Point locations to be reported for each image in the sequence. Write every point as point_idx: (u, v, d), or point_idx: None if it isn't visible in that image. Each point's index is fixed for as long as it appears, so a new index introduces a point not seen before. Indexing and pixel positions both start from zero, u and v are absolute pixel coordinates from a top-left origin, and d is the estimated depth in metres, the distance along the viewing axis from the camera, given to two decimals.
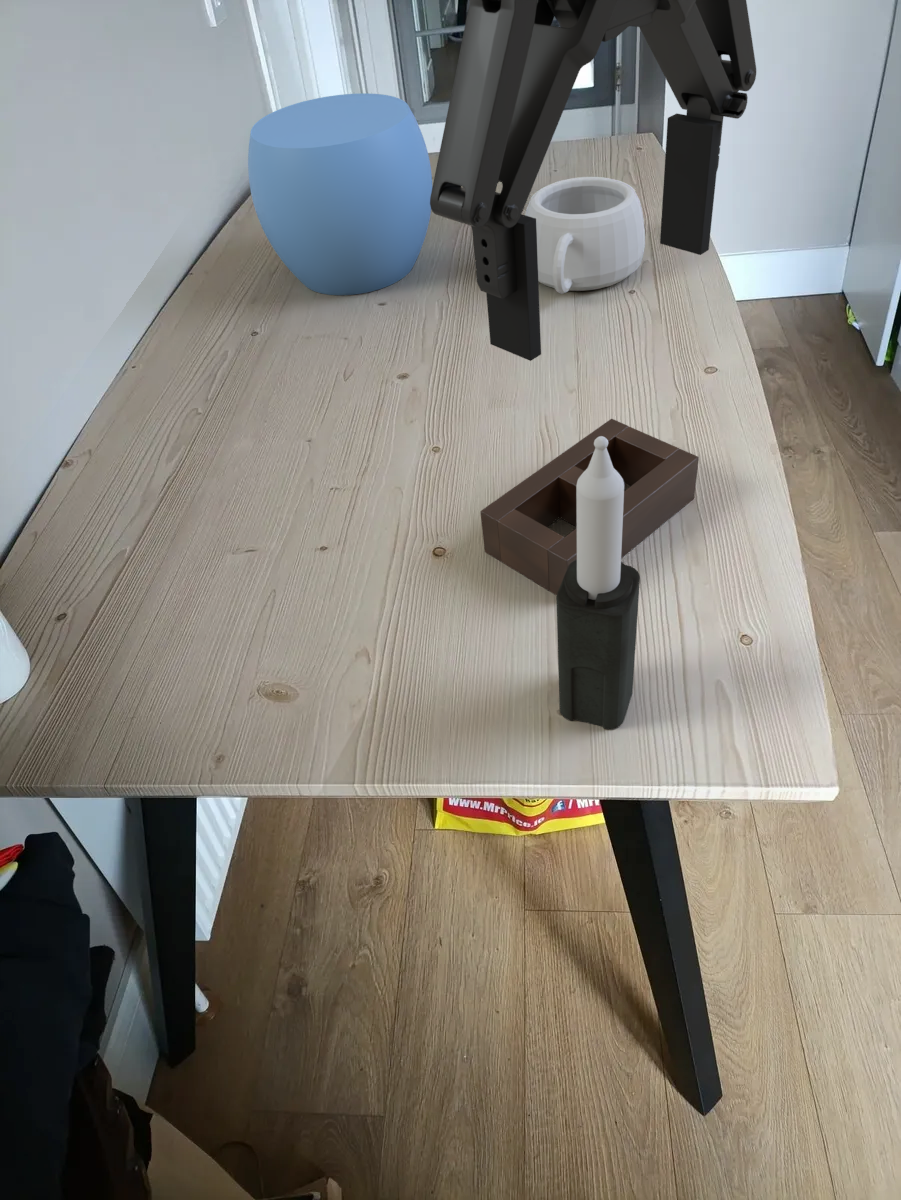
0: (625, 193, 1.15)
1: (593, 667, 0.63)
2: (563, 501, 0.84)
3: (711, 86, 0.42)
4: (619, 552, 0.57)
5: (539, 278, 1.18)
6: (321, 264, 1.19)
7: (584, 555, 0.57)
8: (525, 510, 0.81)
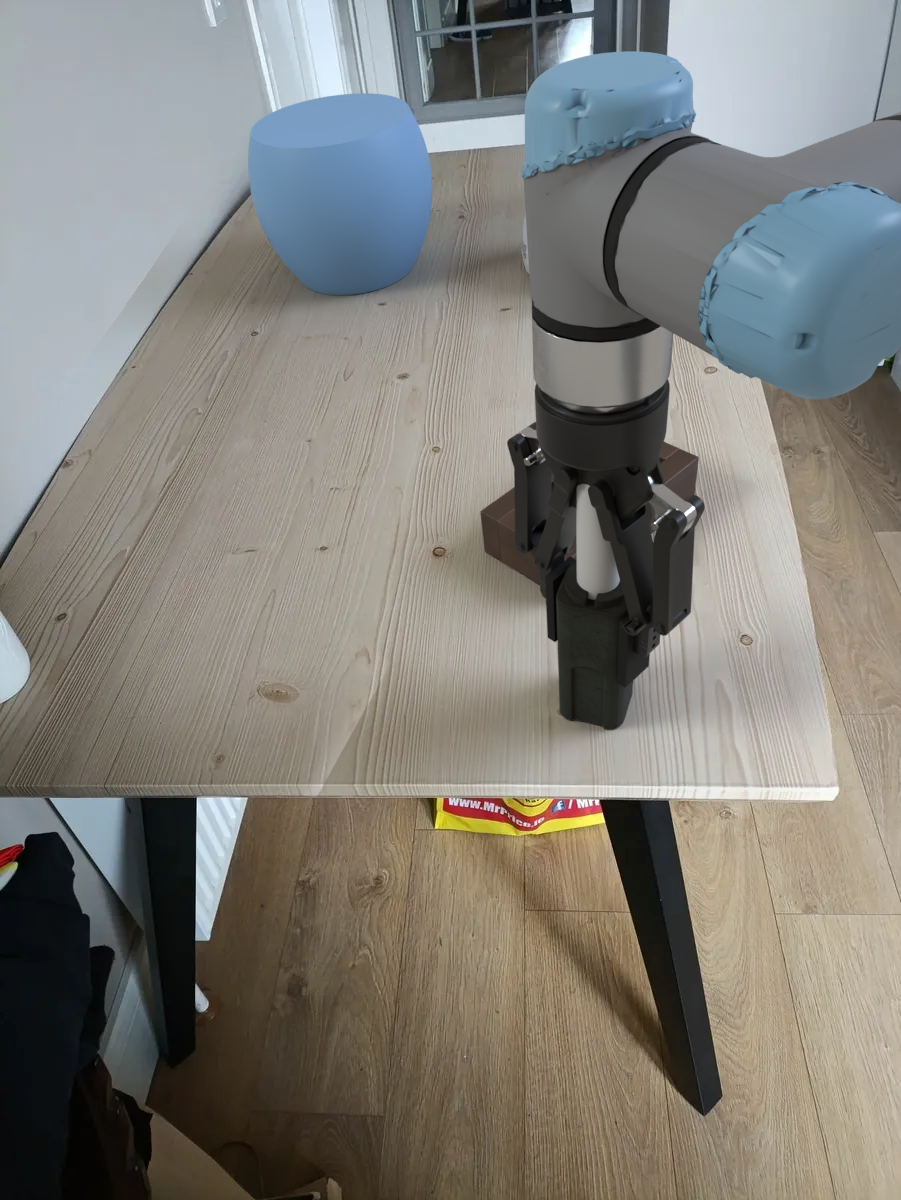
0: None
1: (593, 667, 0.63)
2: None
3: (626, 597, 0.57)
4: None
5: None
6: (321, 264, 1.19)
7: (583, 555, 0.57)
8: None
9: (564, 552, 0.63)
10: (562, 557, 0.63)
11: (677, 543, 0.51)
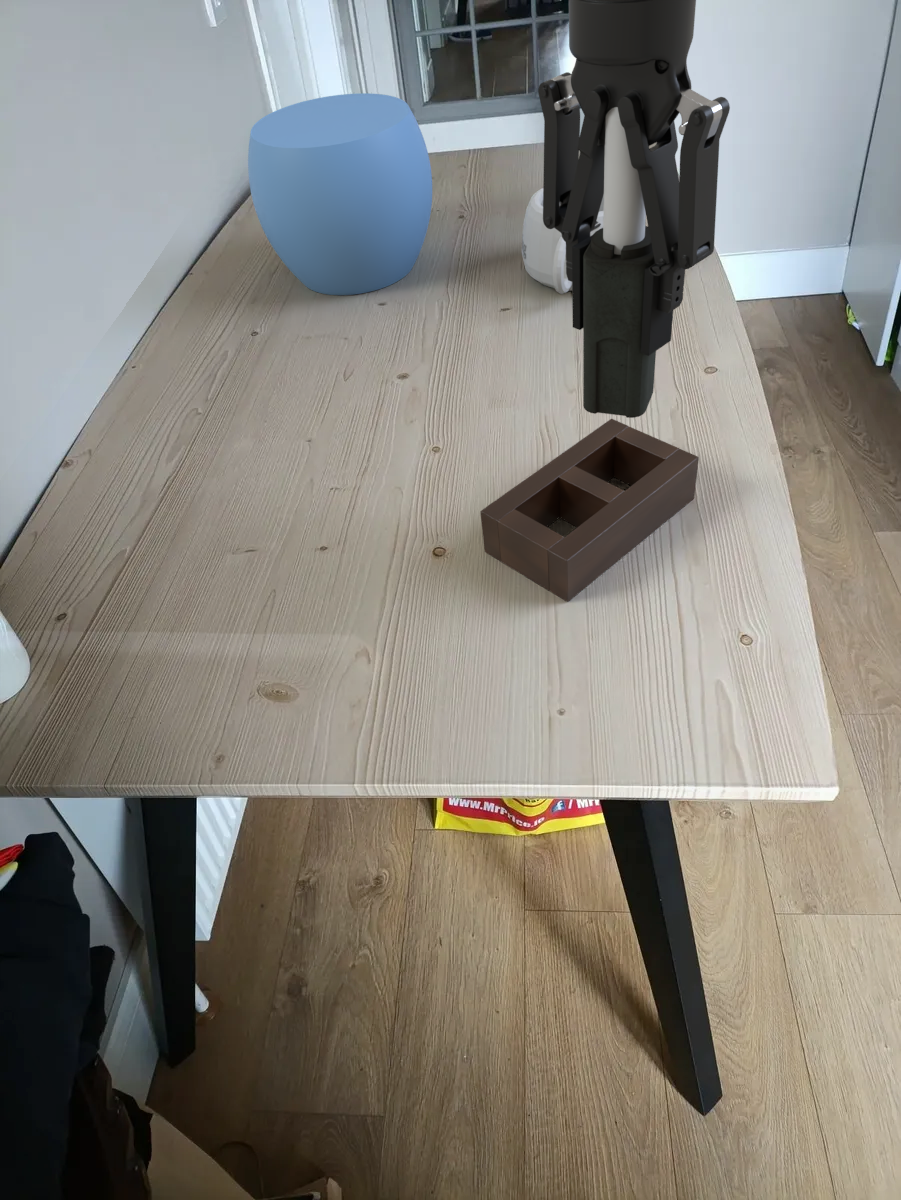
0: None
1: (618, 336, 0.65)
2: (563, 501, 0.84)
3: (652, 236, 0.59)
4: None
5: (539, 278, 1.18)
6: (321, 264, 1.19)
7: (611, 199, 0.60)
8: (525, 510, 0.81)
9: (590, 226, 0.65)
10: (588, 230, 0.65)
11: (703, 148, 0.54)
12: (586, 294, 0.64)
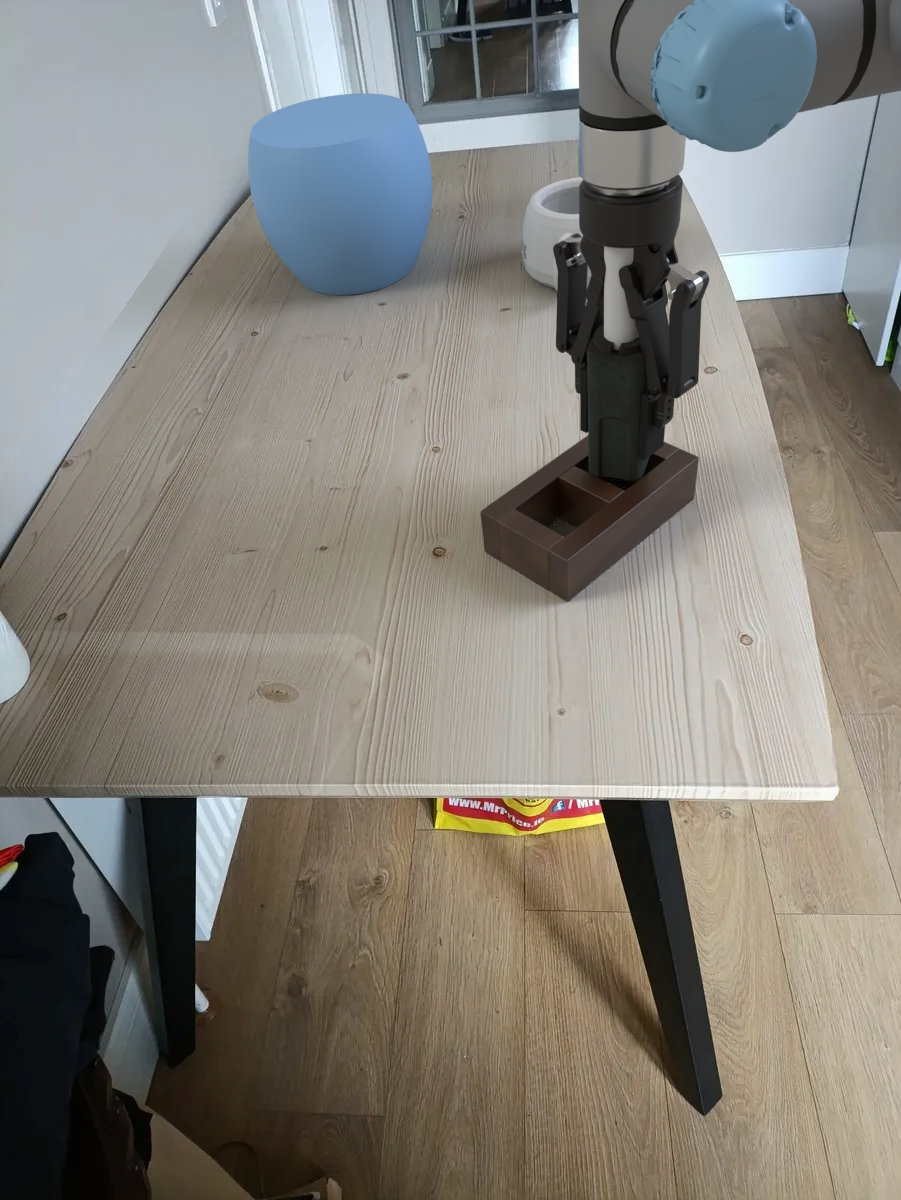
0: None
1: (617, 416, 0.76)
2: (563, 501, 0.84)
3: (647, 370, 0.72)
4: None
5: (539, 278, 1.18)
6: (321, 264, 1.19)
7: (610, 306, 0.70)
8: (525, 510, 0.81)
9: None
10: None
11: (688, 310, 0.67)
12: (590, 381, 0.75)
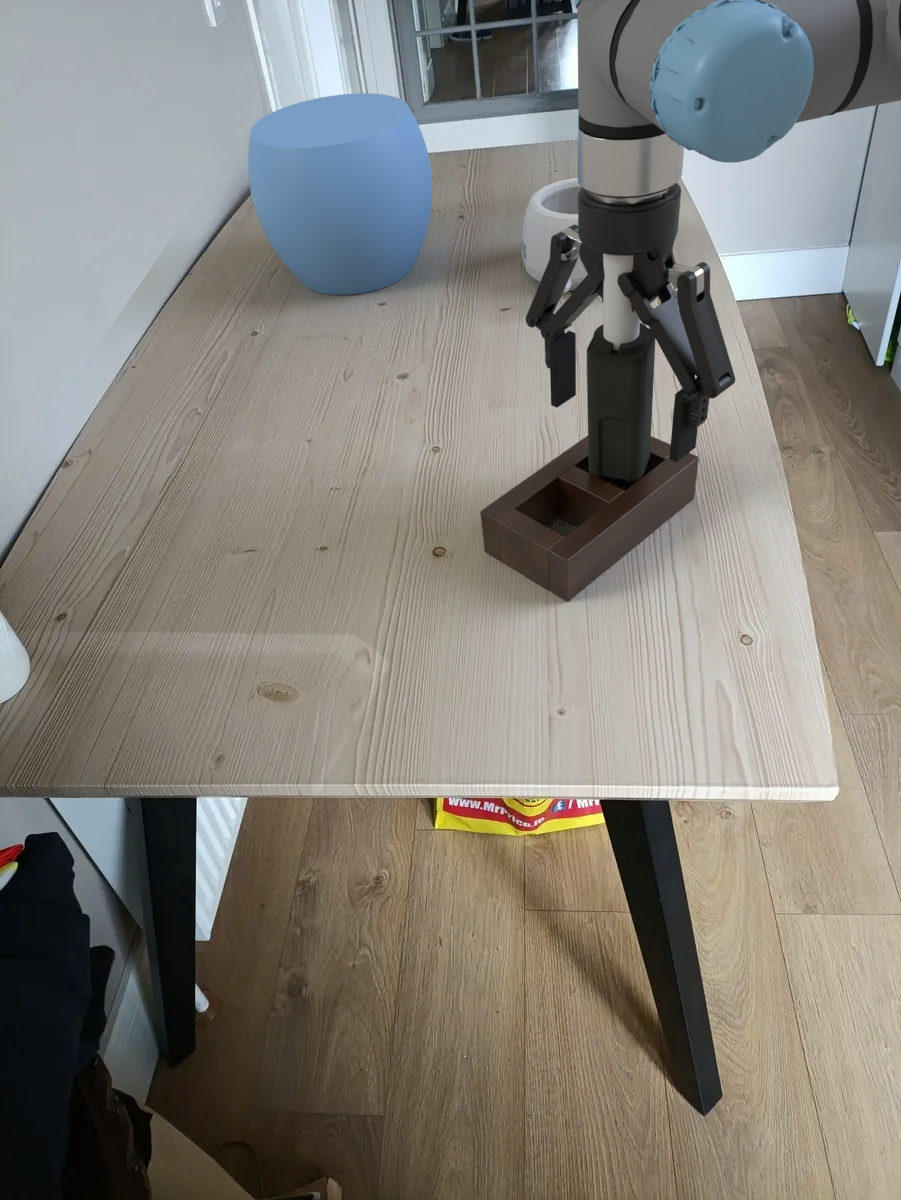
0: None
1: (617, 416, 0.76)
2: (563, 501, 0.84)
3: (676, 372, 0.70)
4: None
5: (539, 278, 1.18)
6: (321, 264, 1.19)
7: (609, 306, 0.70)
8: (525, 510, 0.81)
9: (564, 328, 0.79)
10: (562, 331, 0.79)
11: (697, 302, 0.66)
12: (589, 381, 0.75)
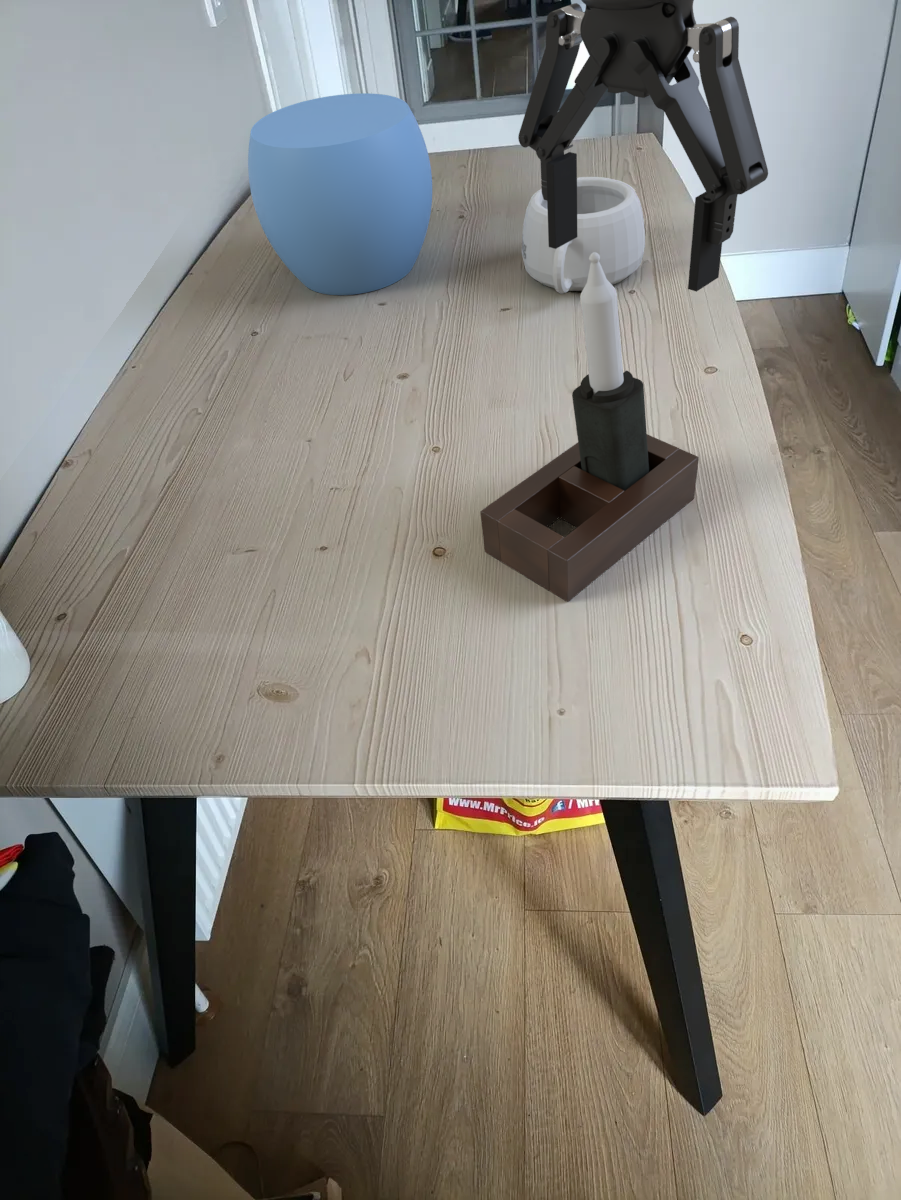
0: (625, 193, 1.15)
1: (597, 457, 0.80)
2: (563, 501, 0.84)
3: (697, 168, 0.58)
4: (614, 356, 0.74)
5: (539, 278, 1.18)
6: (321, 264, 1.19)
7: (587, 355, 0.74)
8: (525, 510, 0.81)
9: (563, 147, 0.68)
10: (561, 151, 0.68)
11: (723, 67, 0.54)
12: (575, 420, 0.79)
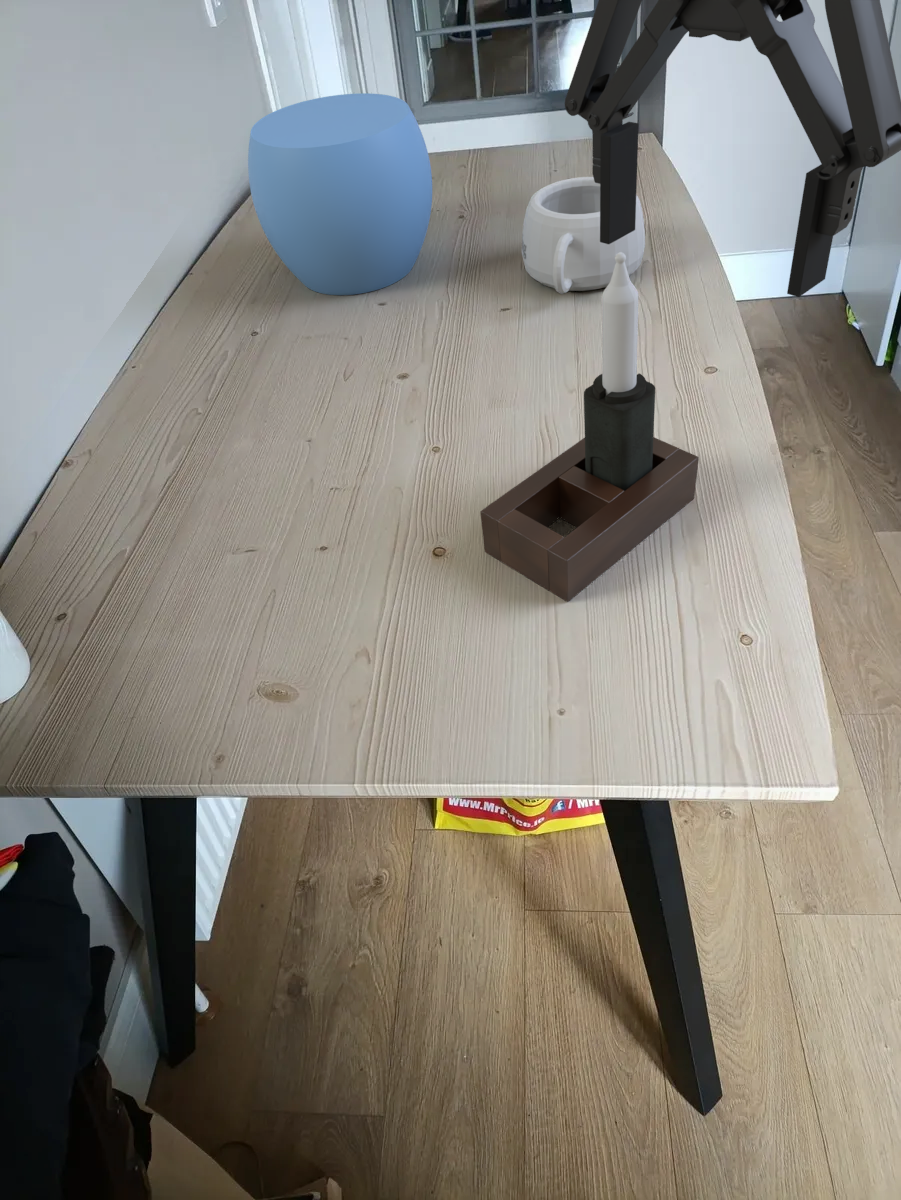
0: None
1: (603, 458, 0.80)
2: (563, 501, 0.84)
3: (811, 134, 0.44)
4: (630, 358, 0.74)
5: (539, 278, 1.18)
6: (321, 264, 1.19)
7: (603, 355, 0.74)
8: (525, 510, 0.81)
9: (622, 115, 0.54)
10: (619, 120, 0.54)
11: None
12: (584, 419, 0.79)
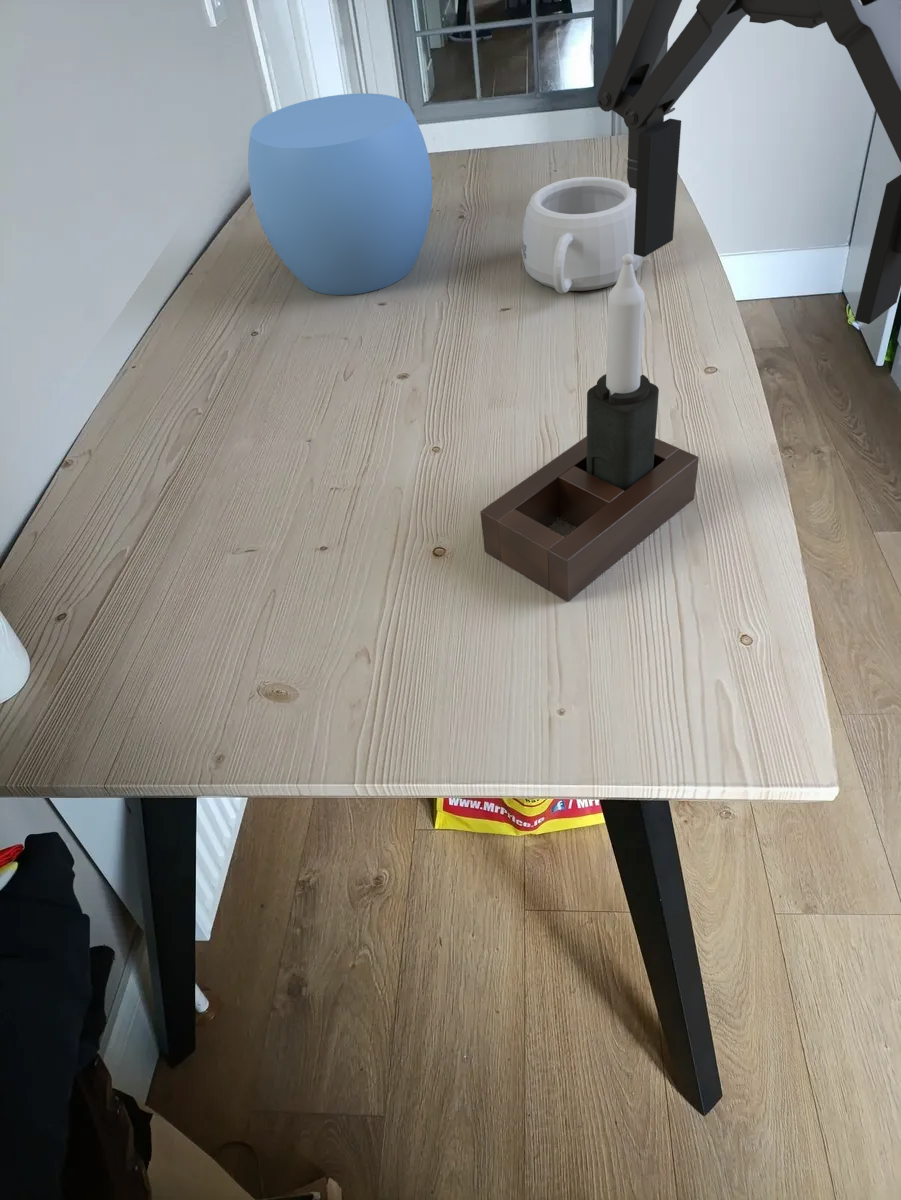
0: (625, 193, 1.15)
1: (605, 459, 0.80)
2: (563, 501, 0.84)
3: (894, 138, 0.38)
4: (635, 360, 0.74)
5: (539, 278, 1.18)
6: (321, 264, 1.19)
7: (608, 356, 0.74)
8: (525, 510, 0.81)
9: (662, 111, 0.47)
10: None
11: None
12: (587, 420, 0.79)
